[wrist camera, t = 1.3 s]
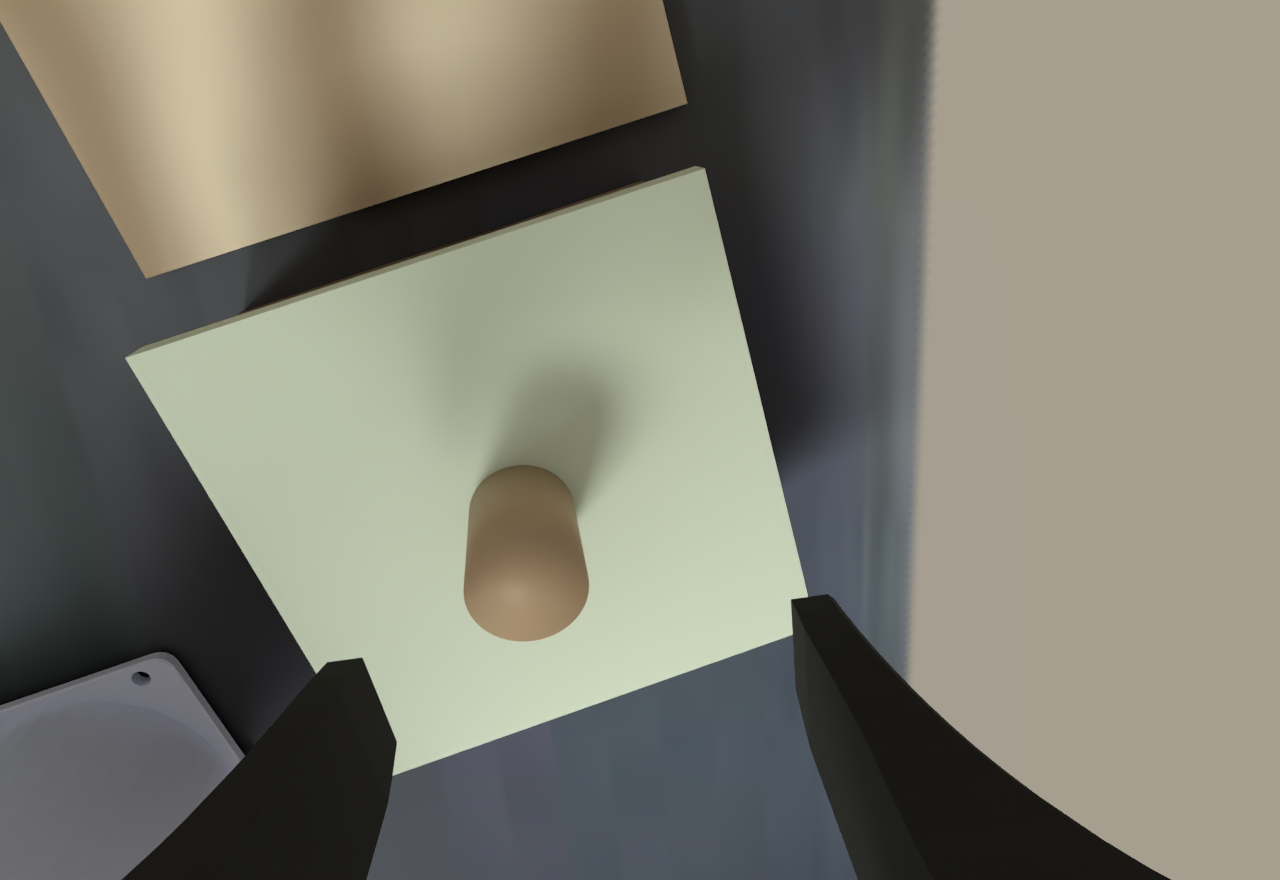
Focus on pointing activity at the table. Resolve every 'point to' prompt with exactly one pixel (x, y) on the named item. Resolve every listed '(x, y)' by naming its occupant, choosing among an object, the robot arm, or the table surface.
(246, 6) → the board
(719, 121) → the table surface
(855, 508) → the table surface
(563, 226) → the lid
